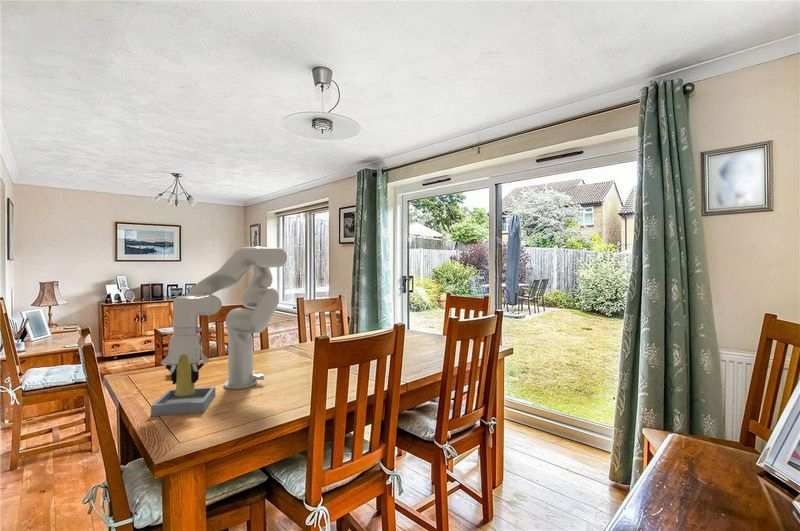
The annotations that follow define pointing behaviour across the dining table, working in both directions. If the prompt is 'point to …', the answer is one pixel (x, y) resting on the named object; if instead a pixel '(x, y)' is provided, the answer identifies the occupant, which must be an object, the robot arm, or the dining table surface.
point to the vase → (184, 377)
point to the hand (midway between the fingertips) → (185, 382)
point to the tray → (183, 402)
